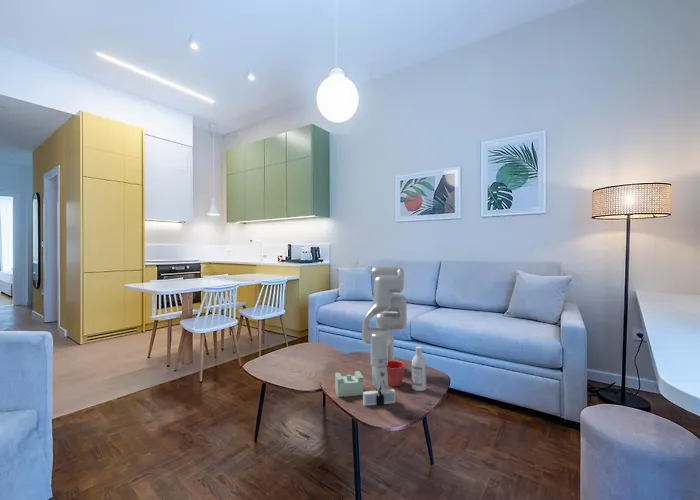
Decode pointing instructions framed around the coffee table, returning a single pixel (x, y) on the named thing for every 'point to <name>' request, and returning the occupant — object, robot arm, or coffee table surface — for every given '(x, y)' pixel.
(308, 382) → the coffee table surface
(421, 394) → the coffee table surface
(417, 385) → the bath foam
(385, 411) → the coffee table surface
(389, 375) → the flower pot
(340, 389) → the notched toy brick
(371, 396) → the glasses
